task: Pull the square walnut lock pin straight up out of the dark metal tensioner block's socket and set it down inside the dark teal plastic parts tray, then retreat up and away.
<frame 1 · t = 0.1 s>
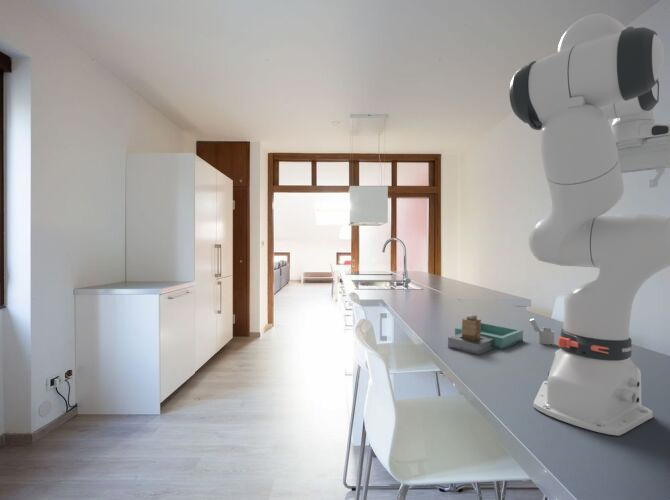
hand: (629, 188, 92), 48 cm above the countertop, fingers open, 8 cm apart
lighter: (541, 343, 116), on the countertop
tensioner block: (470, 347, 110), on the countertop
tray: (488, 339, 120), on the countertop
lock pin: (471, 331, 110), in the tensioner block
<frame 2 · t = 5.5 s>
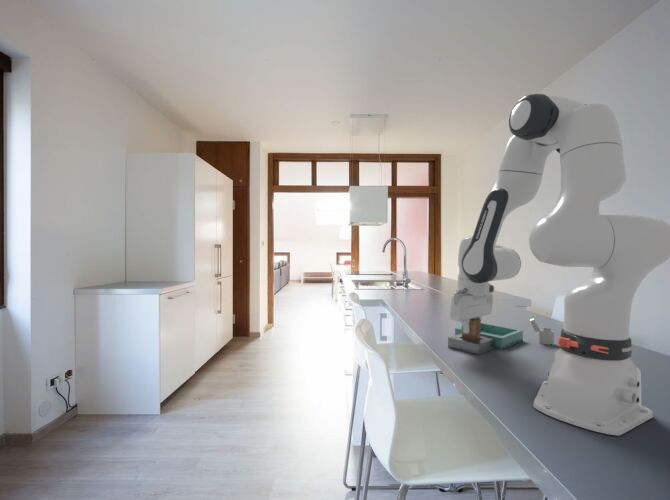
hand: (471, 331, 110), 5 cm above the countertop, fingers closed on lock pin, 4 cm apart
lock pin: (471, 331, 110), in the tensioner block, touching gripper
everything else where it was.
when the fingers open (7 cm above the countertop, at t = 14.1 s): lock pin stays where it is, resting on tray.
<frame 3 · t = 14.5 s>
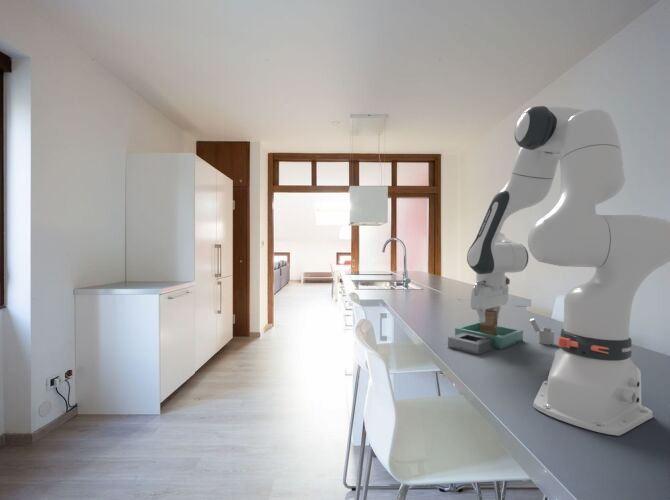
hand: (489, 320, 119), 7 cm above the countertop, fingers open, 8 cm apart
lock pin: (488, 322, 119), in the tray, point 6 cm above the countertop
everything else where it was.
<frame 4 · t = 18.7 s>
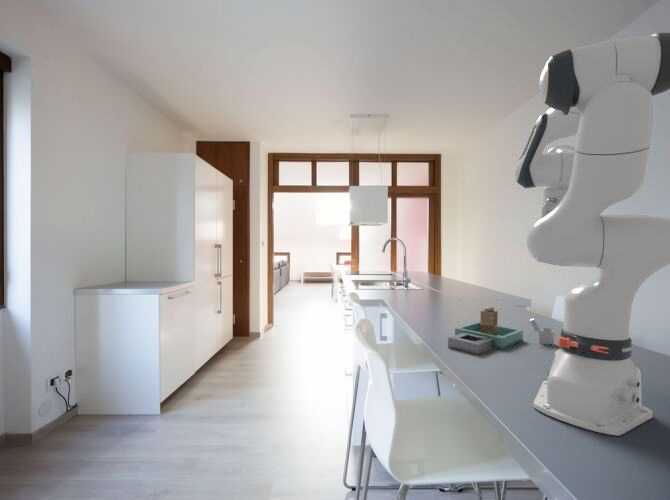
hand: (557, 243, 110), 33 cm above the countertop, fingers open, 8 cm apart
nothing on the countertop moved.
at the end: lock pin inside the target area on the tray (0.0 cm from its centre), point 5.9 cm above the tray's base; the gripper is holding nothing; lock pin moved 14.0 cm from its start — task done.
